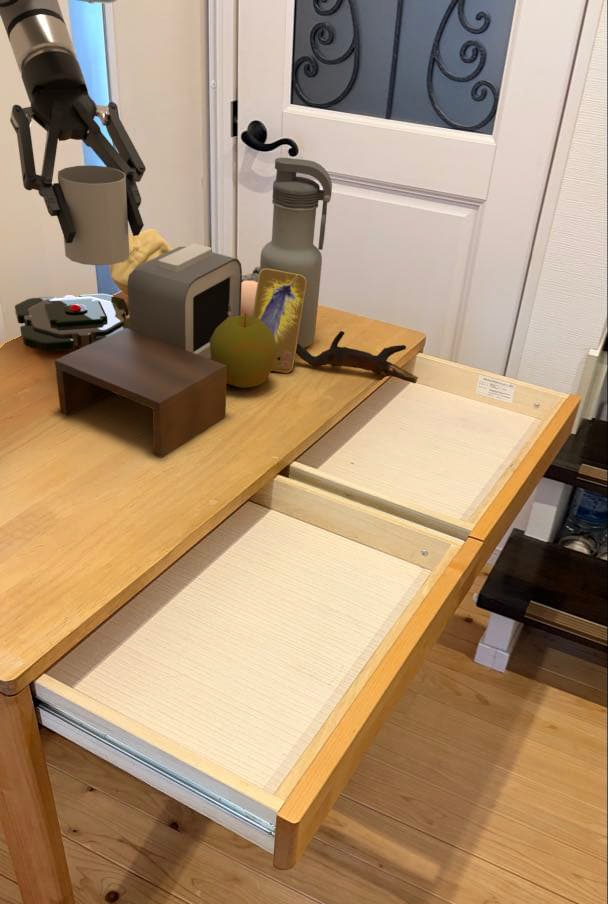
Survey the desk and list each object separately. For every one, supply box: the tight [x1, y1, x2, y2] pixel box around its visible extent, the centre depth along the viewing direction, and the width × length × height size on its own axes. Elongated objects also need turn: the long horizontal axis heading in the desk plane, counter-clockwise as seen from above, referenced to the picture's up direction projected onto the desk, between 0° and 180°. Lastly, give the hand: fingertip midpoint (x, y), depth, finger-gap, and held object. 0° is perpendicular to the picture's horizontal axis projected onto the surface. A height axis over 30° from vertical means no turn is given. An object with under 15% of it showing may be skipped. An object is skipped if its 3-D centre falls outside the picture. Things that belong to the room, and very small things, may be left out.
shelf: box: [54, 328, 227, 458], centre depth 112 cm, size 14×18×8 cm
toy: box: [295, 330, 419, 384], centre depth 129 cm, size 23×7×5 cm
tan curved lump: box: [108, 228, 173, 297], centre depth 143 cm, size 11×12×11 cm
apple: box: [210, 314, 278, 389], centre depth 121 cm, size 10×10×11 cm
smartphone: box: [253, 268, 306, 374], centre depth 127 cm, size 8×15×1 cm
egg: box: [240, 281, 258, 317], centre depth 141 cm, size 7×7×8 cm
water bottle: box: [259, 157, 333, 349], centre depth 129 cm, size 10×10×28 cm
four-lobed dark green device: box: [14, 293, 130, 352], centre depth 133 cm, size 18×18×5 cm
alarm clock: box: [127, 242, 243, 359], centre depth 127 cm, size 16×11×16 cm
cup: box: [57, 164, 130, 267], centre depth 106 cm, size 8×8×10 cm
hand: (105, 233), depth 105 cm, fingers closed on cup, 8 cm apart
